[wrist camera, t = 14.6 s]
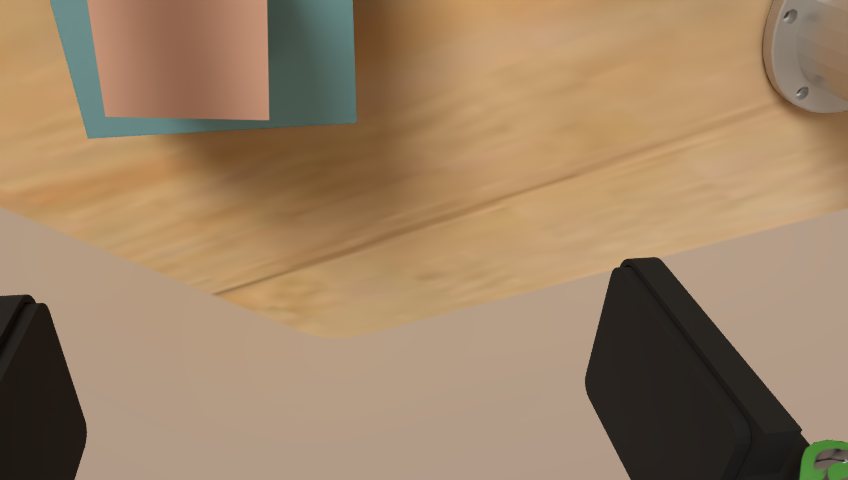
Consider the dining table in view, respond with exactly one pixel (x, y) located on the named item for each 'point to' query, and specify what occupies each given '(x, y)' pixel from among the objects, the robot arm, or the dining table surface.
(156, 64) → the terracotta block
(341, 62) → the teal slab
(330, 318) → the dining table surface
